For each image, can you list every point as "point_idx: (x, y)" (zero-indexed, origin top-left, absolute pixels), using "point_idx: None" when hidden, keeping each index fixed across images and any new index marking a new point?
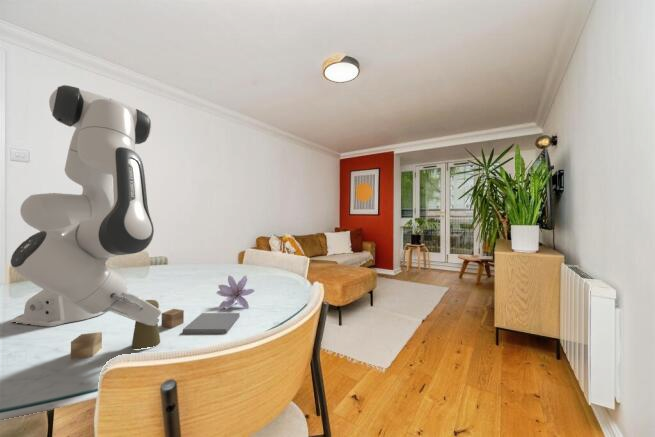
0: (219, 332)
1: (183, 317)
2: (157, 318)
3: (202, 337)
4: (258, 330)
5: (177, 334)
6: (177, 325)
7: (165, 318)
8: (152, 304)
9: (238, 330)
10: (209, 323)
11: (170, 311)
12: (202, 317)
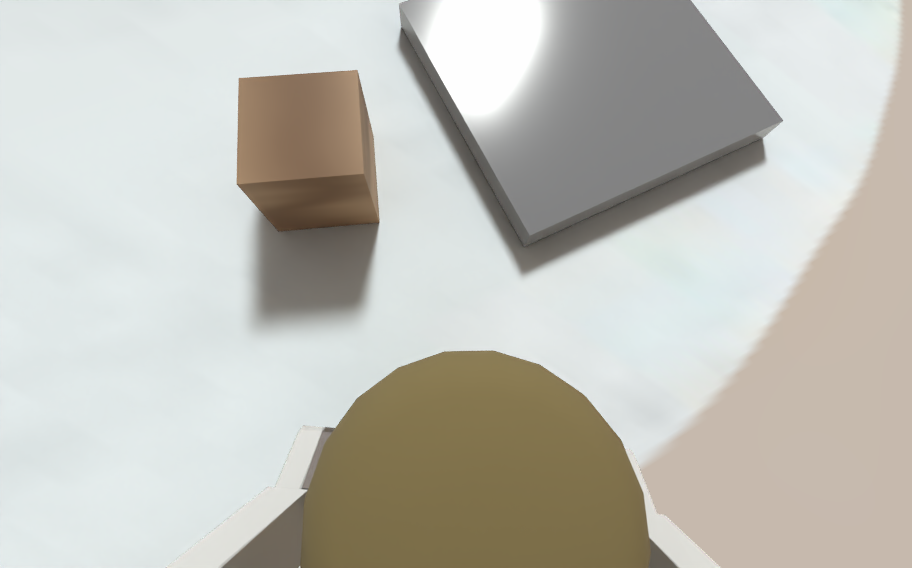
0: (729, 150)
1: (366, 110)
2: (639, 470)
3: (686, 232)
4: (881, 43)
5: (502, 269)
6: (376, 180)
7: (297, 199)
8: (644, 528)
9: (785, 83)
10: (606, 102)
11: (274, 128)
12: (472, 53)
